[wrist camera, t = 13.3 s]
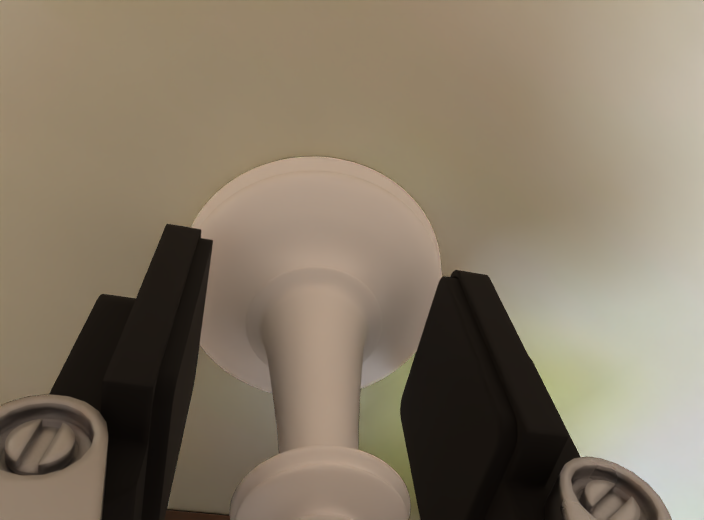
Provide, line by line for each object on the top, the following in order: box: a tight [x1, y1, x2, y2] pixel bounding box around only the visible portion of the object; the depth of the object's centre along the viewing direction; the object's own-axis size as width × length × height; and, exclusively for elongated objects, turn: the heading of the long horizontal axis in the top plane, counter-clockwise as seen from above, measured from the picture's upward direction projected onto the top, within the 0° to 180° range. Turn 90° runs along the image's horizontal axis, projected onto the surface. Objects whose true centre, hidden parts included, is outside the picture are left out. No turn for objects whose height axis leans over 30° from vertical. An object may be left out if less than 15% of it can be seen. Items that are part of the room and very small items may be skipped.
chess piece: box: [191, 156, 442, 520], centre depth 8 cm, size 5×5×10 cm
